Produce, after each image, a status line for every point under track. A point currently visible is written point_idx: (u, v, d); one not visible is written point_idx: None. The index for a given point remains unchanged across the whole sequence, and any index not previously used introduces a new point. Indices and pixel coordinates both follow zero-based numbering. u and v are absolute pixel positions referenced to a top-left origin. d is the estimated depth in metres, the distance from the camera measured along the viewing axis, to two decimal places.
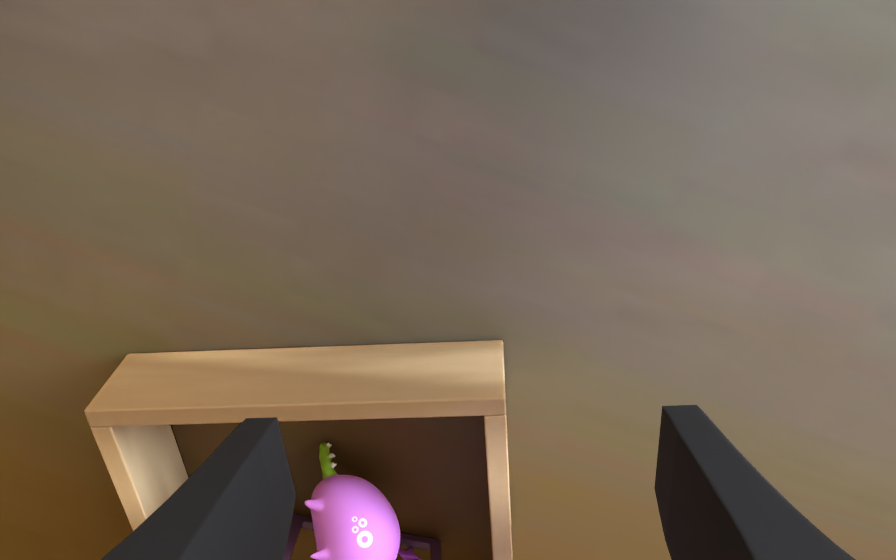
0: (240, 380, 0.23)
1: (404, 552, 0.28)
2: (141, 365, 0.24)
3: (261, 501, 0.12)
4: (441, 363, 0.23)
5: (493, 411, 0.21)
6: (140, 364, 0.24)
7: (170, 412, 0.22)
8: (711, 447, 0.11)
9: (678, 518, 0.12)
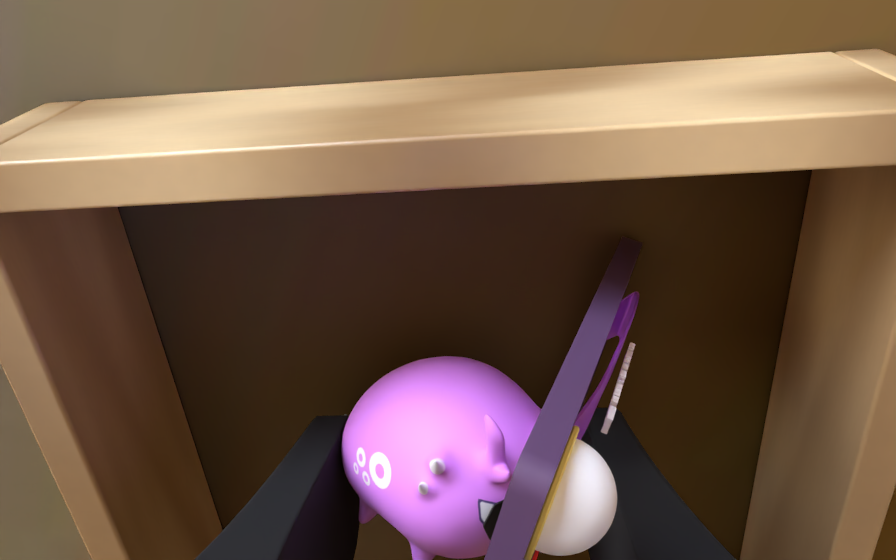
0: None
1: None
2: None
3: (338, 499, 0.12)
4: None
5: None
6: None
7: None
8: (619, 449, 0.11)
9: None
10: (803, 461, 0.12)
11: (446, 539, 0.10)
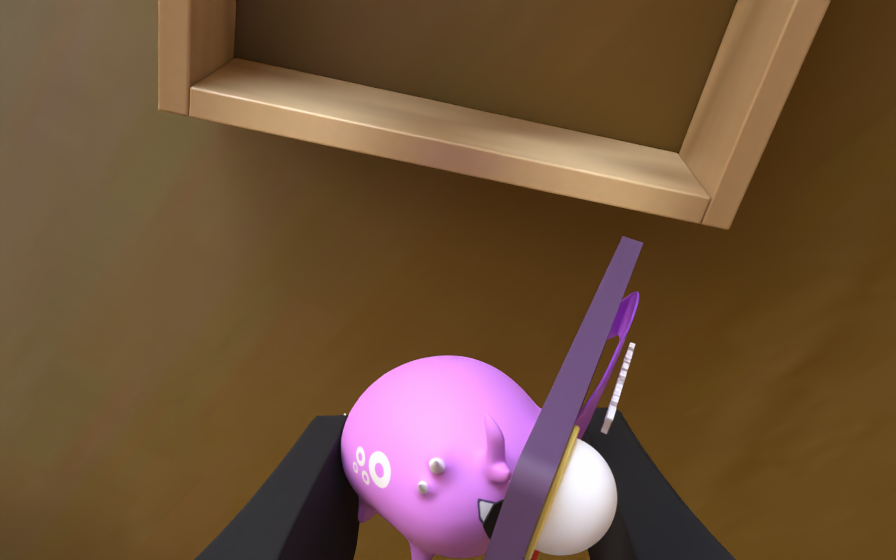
0: None
1: None
2: None
3: (338, 499, 0.12)
4: None
5: None
6: None
7: None
8: (619, 449, 0.11)
9: None
10: None
11: (445, 538, 0.10)
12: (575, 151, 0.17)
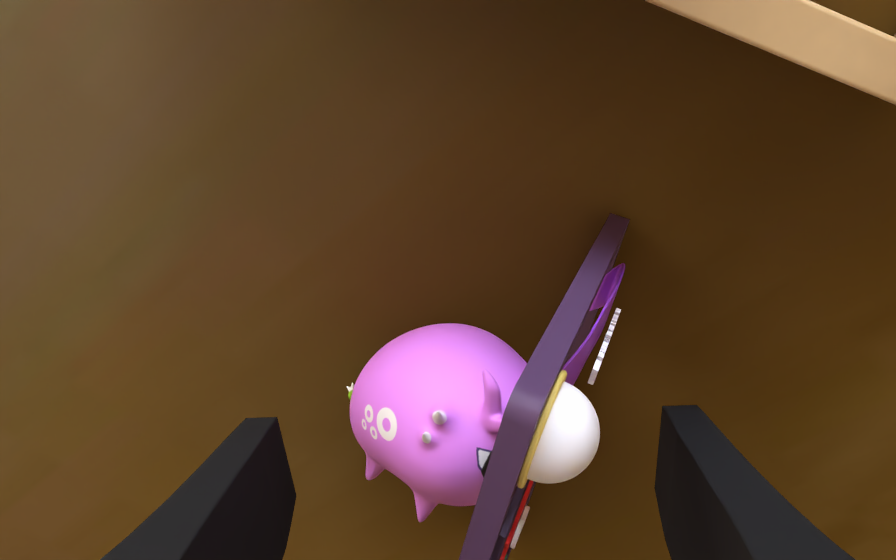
0: None
1: (594, 298, 0.13)
2: None
3: (261, 500, 0.12)
4: None
5: None
6: None
7: None
8: (711, 447, 0.11)
9: (678, 518, 0.12)
10: None
11: (446, 485, 0.11)
12: None
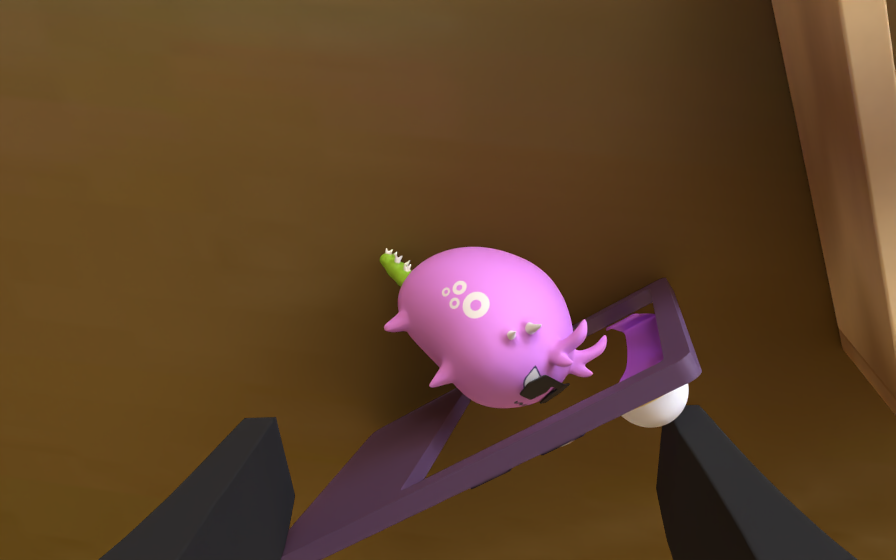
0: None
1: (617, 322, 0.17)
2: None
3: (259, 501, 0.12)
4: None
5: None
6: None
7: None
8: (713, 447, 0.11)
9: (680, 518, 0.12)
10: None
11: (493, 375, 0.13)
12: None
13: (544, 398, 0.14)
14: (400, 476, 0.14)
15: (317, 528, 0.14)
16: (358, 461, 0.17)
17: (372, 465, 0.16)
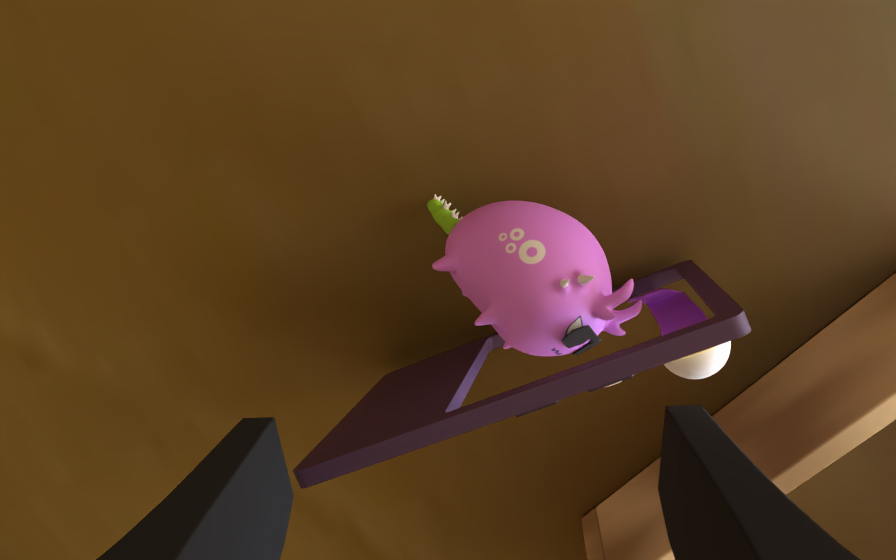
0: None
1: (642, 295, 0.18)
2: None
3: (258, 500, 0.12)
4: None
5: None
6: None
7: None
8: (715, 447, 0.11)
9: (682, 518, 0.12)
10: None
11: (540, 319, 0.14)
12: None
13: (578, 350, 0.15)
14: (439, 403, 0.14)
15: (354, 442, 0.14)
16: (378, 395, 0.18)
17: (398, 397, 0.16)
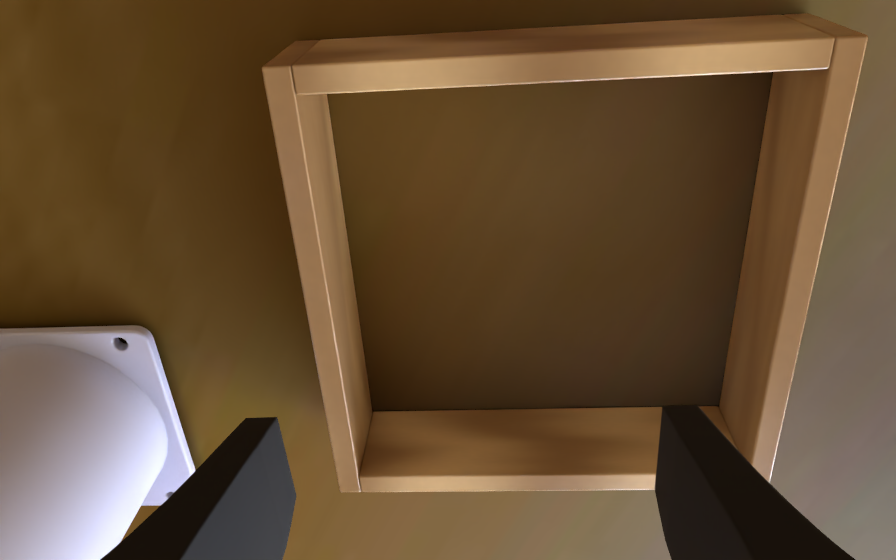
0: None
1: None
2: None
3: (261, 500, 0.12)
4: None
5: None
6: None
7: (835, 162, 0.16)
8: (711, 447, 0.11)
9: (679, 518, 0.12)
10: (340, 287, 0.20)
11: None
12: None
13: None
14: None
15: None
16: None
17: None
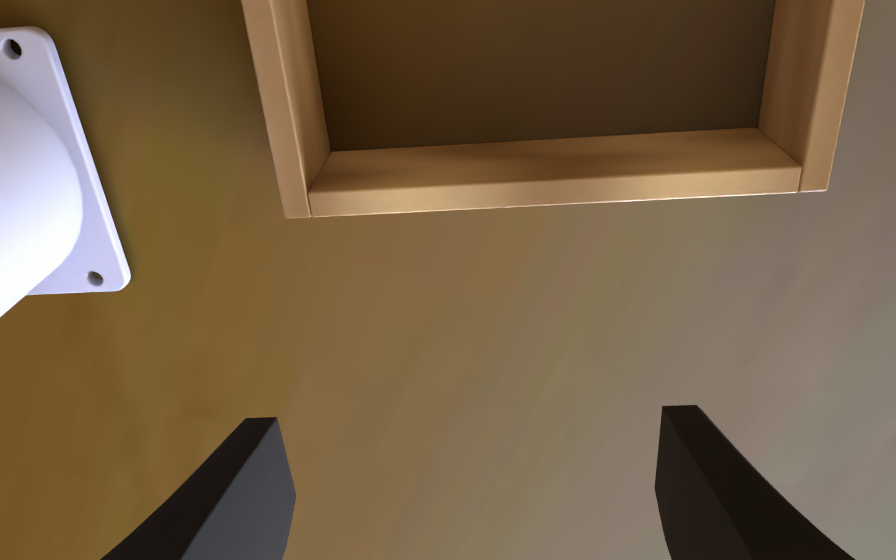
0: None
1: None
2: None
3: (261, 500, 0.12)
4: None
5: (808, 177, 0.17)
6: None
7: None
8: (711, 447, 0.11)
9: (678, 518, 0.12)
10: None
11: None
12: None
13: None
14: None
15: None
16: None
17: None
